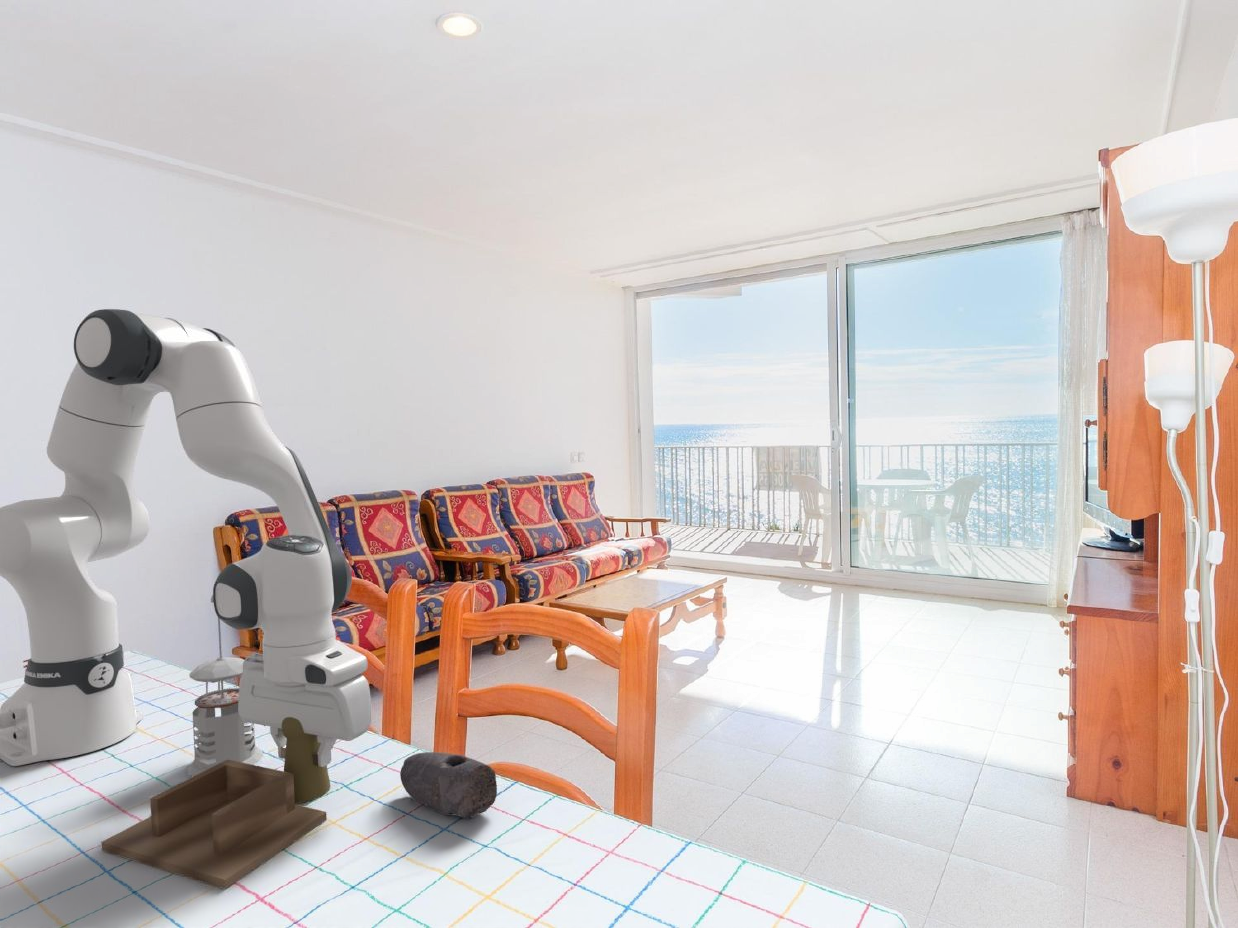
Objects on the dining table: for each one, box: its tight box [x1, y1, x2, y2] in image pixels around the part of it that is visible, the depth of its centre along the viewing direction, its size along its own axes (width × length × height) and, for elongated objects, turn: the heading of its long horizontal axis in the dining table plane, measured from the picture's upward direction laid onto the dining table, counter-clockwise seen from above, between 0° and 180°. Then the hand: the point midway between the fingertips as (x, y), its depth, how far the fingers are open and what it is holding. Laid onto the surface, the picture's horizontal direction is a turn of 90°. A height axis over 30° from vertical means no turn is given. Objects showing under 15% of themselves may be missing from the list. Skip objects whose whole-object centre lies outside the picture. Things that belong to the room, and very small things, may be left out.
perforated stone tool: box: [399, 751, 498, 820], centre depth 89 cm, size 15×5×7 cm, turn 57°
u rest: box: [100, 760, 327, 890], centre depth 84 cm, size 20×14×6 cm
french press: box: [187, 594, 264, 777], centre depth 103 cm, size 10×12×25 cm
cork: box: [282, 717, 331, 804], centre depth 94 cm, size 6×6×11 cm
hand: (304, 760), depth 94 cm, fingers closed on cork, 5 cm apart
